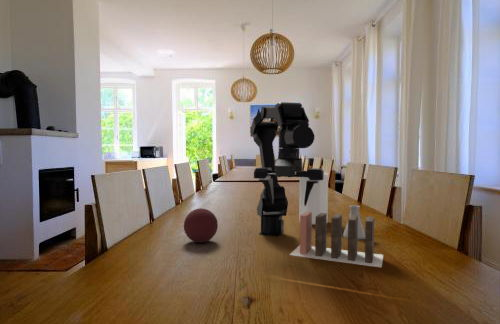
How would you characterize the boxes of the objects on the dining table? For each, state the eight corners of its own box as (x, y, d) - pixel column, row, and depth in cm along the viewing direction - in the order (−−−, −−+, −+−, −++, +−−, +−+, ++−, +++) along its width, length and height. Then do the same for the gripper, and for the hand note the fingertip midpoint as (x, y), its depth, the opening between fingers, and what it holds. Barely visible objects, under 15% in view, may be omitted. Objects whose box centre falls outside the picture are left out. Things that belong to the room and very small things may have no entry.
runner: (289, 256, 84) (289, 254, 84) (300, 246, 94) (300, 244, 94) (381, 269, 75) (381, 267, 75) (383, 256, 85) (383, 254, 85)
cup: (332, 221, 127) (332, 173, 126) (322, 226, 118) (322, 175, 117) (305, 217, 133) (305, 172, 132) (293, 222, 124) (293, 173, 123)
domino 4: (347, 260, 80) (348, 219, 80) (350, 253, 86) (351, 215, 86) (354, 261, 80) (354, 220, 79) (357, 253, 85) (357, 215, 85)
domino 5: (364, 262, 79) (365, 220, 78) (367, 255, 84) (367, 216, 84) (372, 263, 78) (372, 221, 78) (373, 255, 84) (374, 216, 83)
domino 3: (331, 257, 82) (331, 218, 82) (335, 251, 88) (335, 213, 87) (337, 258, 81) (338, 218, 81) (341, 251, 87) (341, 214, 87)
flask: (368, 241, 99) (368, 208, 98) (343, 240, 100) (343, 207, 100) (364, 235, 106) (365, 204, 105) (341, 234, 107) (341, 203, 107)
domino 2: (315, 255, 84) (315, 216, 83) (320, 249, 89) (320, 212, 89) (321, 256, 83) (321, 217, 83) (326, 250, 89) (326, 213, 88)
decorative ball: (224, 241, 98) (224, 208, 98) (198, 249, 91) (197, 213, 90) (203, 235, 105) (203, 204, 104) (177, 242, 98) (176, 208, 97)
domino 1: (299, 253, 85) (300, 215, 85) (305, 247, 91) (306, 211, 90) (305, 254, 85) (306, 216, 84) (311, 248, 90) (311, 212, 90)
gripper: (248, 148, 85) (248, 208, 86) (321, 148, 80) (321, 212, 81) (258, 148, 96) (258, 201, 97) (324, 148, 91) (323, 204, 92)
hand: (288, 204), depth 91 cm, fingers open, 9 cm apart
